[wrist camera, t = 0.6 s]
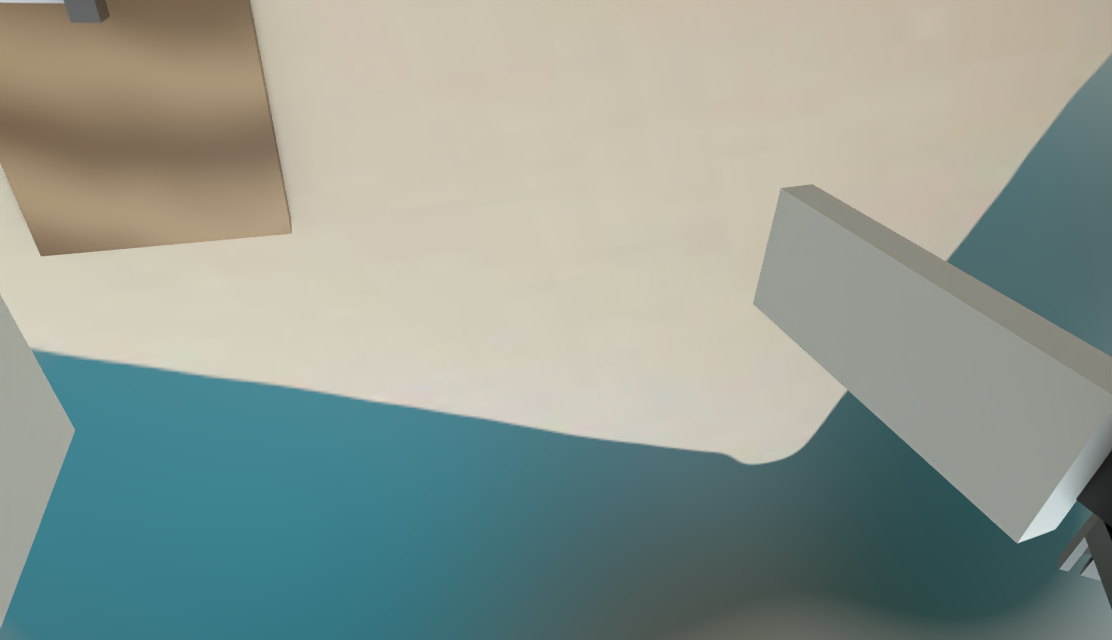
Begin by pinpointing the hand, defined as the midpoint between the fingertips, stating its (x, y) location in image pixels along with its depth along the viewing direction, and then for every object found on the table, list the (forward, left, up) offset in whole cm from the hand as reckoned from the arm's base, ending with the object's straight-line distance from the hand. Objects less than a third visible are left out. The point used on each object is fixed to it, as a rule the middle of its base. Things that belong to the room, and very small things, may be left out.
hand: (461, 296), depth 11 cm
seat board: (+4, -10, -25) cm, 27 cm away
